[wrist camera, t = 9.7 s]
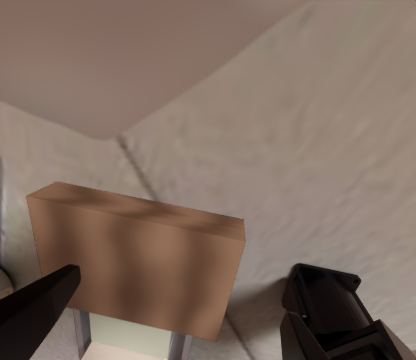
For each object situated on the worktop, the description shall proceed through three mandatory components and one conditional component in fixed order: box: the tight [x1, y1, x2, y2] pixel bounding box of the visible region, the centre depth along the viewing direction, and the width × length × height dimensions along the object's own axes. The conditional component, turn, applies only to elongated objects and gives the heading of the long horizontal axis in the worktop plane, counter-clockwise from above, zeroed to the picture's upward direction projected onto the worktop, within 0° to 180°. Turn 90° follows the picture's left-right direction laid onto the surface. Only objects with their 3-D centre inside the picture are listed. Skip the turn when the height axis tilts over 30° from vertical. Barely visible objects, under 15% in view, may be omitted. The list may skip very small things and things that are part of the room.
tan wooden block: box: [26, 182, 246, 342], centre depth 22 cm, size 20×14×4 cm
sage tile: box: [89, 312, 173, 359], centre depth 26 cm, size 10×6×2 cm, turn 80°
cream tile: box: [81, 338, 173, 360], centre depth 26 cm, size 10×6×2 cm
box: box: [73, 309, 193, 360], centre depth 28 cm, size 15×15×3 cm
